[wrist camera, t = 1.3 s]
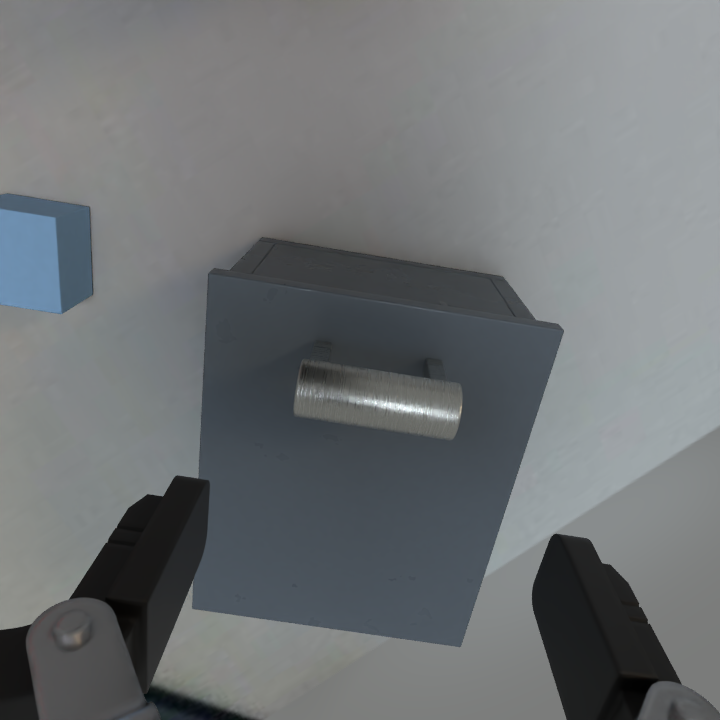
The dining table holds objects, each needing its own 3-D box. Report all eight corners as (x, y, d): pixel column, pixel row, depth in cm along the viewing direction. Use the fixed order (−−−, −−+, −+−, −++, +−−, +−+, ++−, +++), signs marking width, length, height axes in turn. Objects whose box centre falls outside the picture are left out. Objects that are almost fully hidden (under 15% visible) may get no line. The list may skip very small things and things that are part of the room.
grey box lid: (213, 267, 22) (165, 311, 17) (559, 323, 23) (608, 381, 18) (196, 596, 29) (158, 695, 24) (459, 634, 30) (474, 738, 25)
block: (6, 193, 31) (-38, 202, 28) (89, 206, 31) (55, 217, 28) (15, 282, 33) (-25, 301, 30) (93, 294, 33) (61, 314, 30)
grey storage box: (261, 236, 32) (212, 286, 22) (503, 276, 32) (552, 341, 23) (240, 481, 38) (196, 596, 29) (440, 511, 39) (458, 633, 30)
